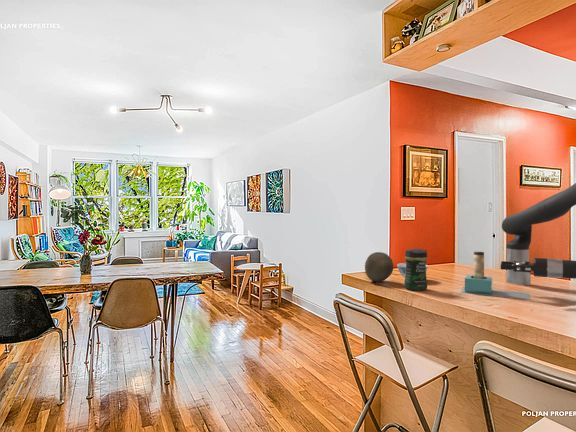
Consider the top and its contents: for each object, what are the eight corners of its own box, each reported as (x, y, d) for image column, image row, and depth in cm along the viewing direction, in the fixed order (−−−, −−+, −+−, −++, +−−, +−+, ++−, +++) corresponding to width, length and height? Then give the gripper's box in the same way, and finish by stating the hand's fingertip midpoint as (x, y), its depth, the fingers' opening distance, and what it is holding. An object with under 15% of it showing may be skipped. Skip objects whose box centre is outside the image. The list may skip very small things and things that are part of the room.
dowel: (479, 287, 163) (479, 251, 163) (486, 289, 159) (486, 252, 159) (471, 288, 162) (471, 251, 162) (478, 290, 158) (478, 252, 158)
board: (528, 295, 157) (528, 292, 157) (530, 302, 146) (530, 299, 146) (463, 289, 170) (463, 287, 170) (460, 295, 158) (460, 292, 158)
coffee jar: (411, 291, 166) (411, 250, 165) (401, 288, 173) (401, 248, 173) (430, 290, 168) (430, 249, 168) (420, 286, 176) (420, 247, 175)
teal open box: (492, 290, 162) (492, 276, 162) (491, 294, 154) (491, 280, 154) (466, 287, 167) (466, 274, 167) (464, 292, 159) (464, 278, 159)
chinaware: (402, 276, 203) (402, 262, 203) (431, 279, 194) (431, 264, 194) (393, 280, 191) (393, 265, 191) (422, 283, 182) (422, 268, 182)
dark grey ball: (363, 283, 183) (363, 253, 183) (366, 278, 197) (366, 250, 197) (393, 285, 179) (393, 254, 179) (393, 280, 193) (393, 251, 192)
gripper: (546, 256, 154) (501, 254, 162) (549, 260, 142) (500, 258, 150) (546, 274, 154) (501, 271, 162) (549, 280, 142) (500, 276, 150)
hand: (500, 265), depth 156 cm, fingers open, 8 cm apart
